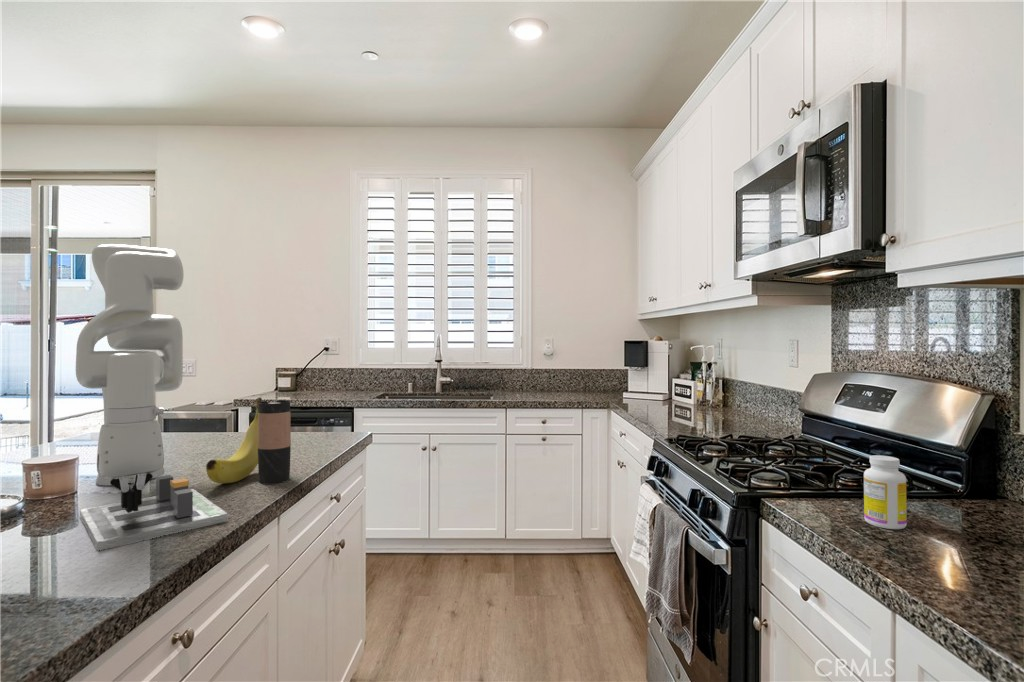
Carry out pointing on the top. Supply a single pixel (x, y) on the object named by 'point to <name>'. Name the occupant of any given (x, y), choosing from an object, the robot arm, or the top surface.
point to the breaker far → (163, 487)
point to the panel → (146, 520)
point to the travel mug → (274, 441)
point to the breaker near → (183, 503)
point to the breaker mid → (178, 487)
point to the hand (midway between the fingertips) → (131, 510)
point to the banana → (238, 457)
